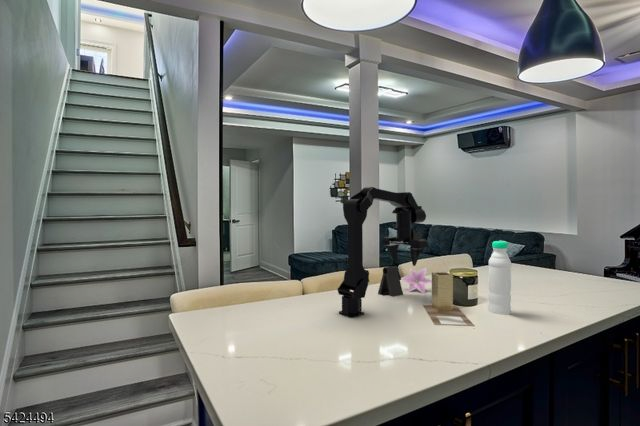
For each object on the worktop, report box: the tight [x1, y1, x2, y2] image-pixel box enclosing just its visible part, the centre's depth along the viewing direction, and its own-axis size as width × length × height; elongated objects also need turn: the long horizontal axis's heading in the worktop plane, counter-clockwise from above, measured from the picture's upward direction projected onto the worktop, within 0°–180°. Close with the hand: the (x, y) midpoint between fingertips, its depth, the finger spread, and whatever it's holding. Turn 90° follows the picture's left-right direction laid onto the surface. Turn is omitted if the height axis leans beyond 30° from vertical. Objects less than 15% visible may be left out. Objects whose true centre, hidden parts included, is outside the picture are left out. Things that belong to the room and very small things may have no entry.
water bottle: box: [487, 240, 512, 315], centre depth 123 cm, size 7×7×25 cm
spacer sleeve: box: [431, 271, 454, 311], centre depth 126 cm, size 5×5×12 cm
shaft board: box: [422, 304, 476, 330], centre depth 120 cm, size 22×12×4 cm, turn 174°
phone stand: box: [377, 265, 404, 298], centre depth 149 cm, size 9×6×12 cm, turn 32°
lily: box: [400, 267, 432, 294], centre depth 157 cm, size 12×12×10 cm
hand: (404, 264), depth 140 cm, fingers open, 9 cm apart
